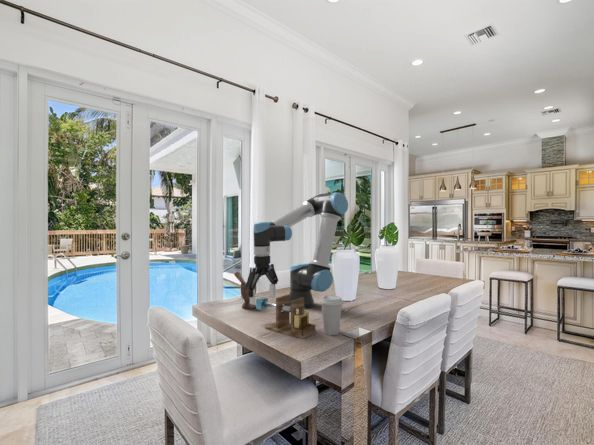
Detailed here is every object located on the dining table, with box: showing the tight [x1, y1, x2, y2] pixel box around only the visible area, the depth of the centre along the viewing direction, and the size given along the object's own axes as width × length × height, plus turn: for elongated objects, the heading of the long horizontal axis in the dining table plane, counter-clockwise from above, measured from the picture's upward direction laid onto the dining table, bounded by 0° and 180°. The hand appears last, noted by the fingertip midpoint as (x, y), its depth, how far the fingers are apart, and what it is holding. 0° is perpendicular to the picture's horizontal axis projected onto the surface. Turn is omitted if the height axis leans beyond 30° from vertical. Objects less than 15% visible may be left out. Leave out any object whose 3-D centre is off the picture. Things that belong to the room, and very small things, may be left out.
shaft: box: [255, 296, 291, 314], centre depth 140 cm, size 20×5×5 cm, turn 54°
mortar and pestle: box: [234, 271, 257, 310], centre depth 169 cm, size 12×9×20 cm
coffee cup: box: [320, 294, 344, 336], centre depth 132 cm, size 10×10×15 cm
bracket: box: [264, 294, 317, 340], centre depth 135 cm, size 20×10×14 cm, turn 54°
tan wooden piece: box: [294, 310, 310, 330], centre depth 131 cm, size 2×7×7 cm, turn 144°
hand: (262, 300), depth 145 cm, fingers open, 13 cm apart
